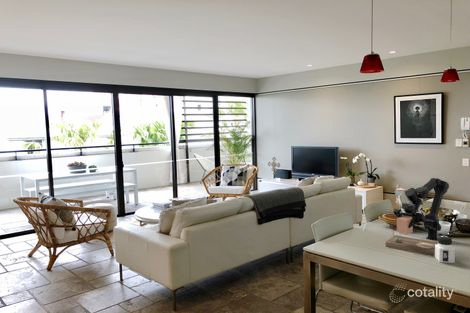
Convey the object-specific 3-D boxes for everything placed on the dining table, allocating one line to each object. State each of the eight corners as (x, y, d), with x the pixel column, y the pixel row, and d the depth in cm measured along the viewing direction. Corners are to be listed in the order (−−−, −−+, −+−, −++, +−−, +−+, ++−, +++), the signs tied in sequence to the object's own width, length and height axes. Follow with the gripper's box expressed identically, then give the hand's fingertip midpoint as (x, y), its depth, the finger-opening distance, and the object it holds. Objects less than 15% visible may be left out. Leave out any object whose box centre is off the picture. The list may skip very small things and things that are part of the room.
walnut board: (394, 239, 240) (394, 231, 240) (442, 247, 222) (442, 239, 222) (385, 246, 226) (385, 238, 226) (436, 255, 208) (436, 246, 208)
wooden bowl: (379, 230, 263) (379, 219, 262) (377, 221, 286) (377, 211, 285) (425, 232, 254) (425, 221, 253) (419, 224, 277) (419, 213, 276)
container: (454, 263, 197) (455, 239, 196) (439, 262, 198) (439, 238, 197) (449, 258, 204) (450, 235, 203) (434, 257, 206) (435, 234, 205)
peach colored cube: (402, 230, 227) (402, 216, 227) (412, 232, 222) (412, 218, 221) (396, 232, 224) (396, 218, 223) (406, 234, 218) (406, 220, 218)
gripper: (394, 195, 231) (384, 215, 226) (423, 200, 216) (412, 221, 210) (402, 206, 236) (391, 226, 231) (430, 211, 221) (420, 232, 215)
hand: (403, 226), depth 222 cm, fingers closed on peach colored cube, 6 cm apart
